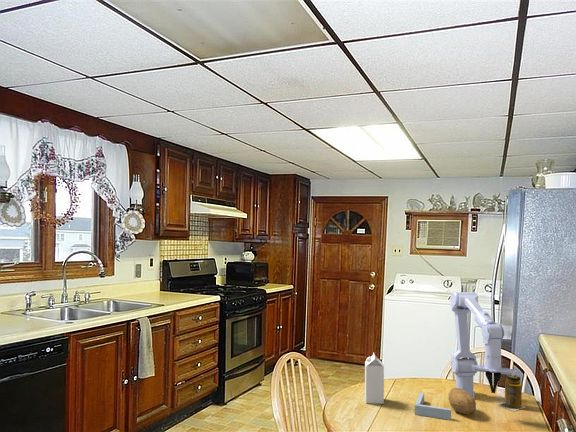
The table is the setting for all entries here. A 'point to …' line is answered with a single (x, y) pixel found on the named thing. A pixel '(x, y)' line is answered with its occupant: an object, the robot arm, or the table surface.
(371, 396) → the milk carton
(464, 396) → the potato
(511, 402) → the condiment
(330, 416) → the table surface
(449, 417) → the corner walls
